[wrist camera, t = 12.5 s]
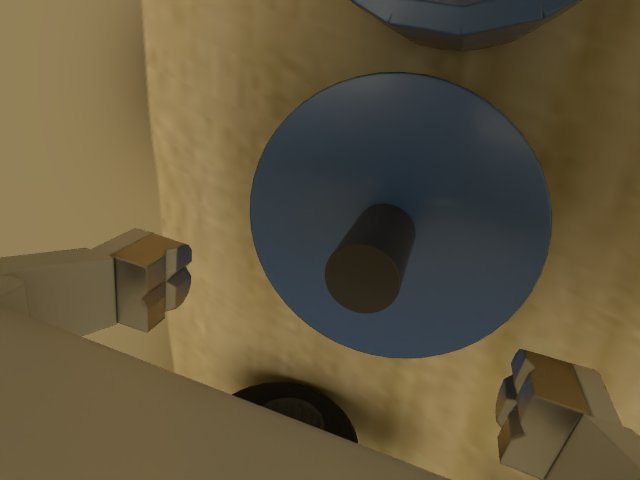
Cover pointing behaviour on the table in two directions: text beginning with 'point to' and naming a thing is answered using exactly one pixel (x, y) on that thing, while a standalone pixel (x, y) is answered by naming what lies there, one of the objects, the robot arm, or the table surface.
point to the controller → (301, 406)
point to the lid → (400, 215)
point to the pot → (464, 20)
